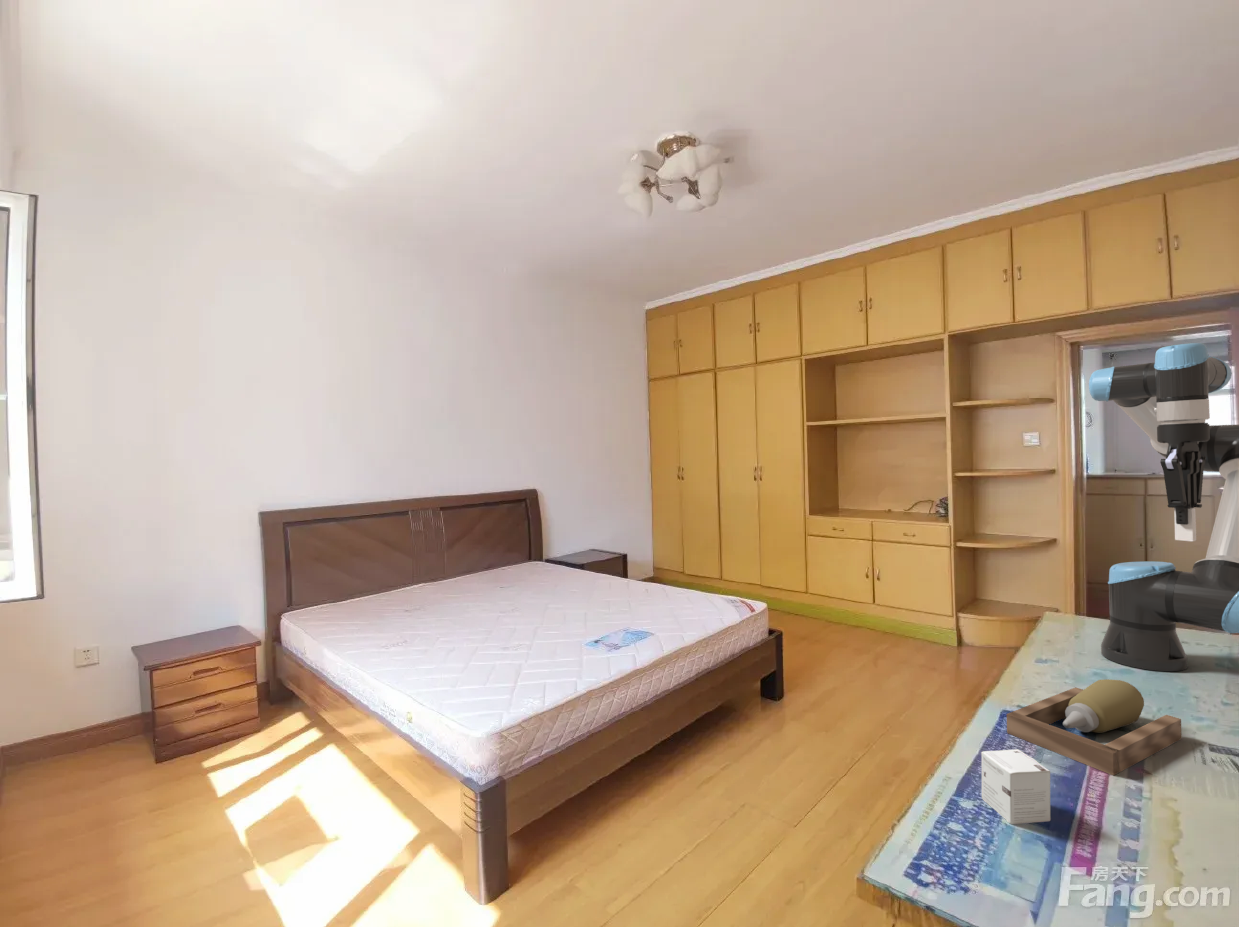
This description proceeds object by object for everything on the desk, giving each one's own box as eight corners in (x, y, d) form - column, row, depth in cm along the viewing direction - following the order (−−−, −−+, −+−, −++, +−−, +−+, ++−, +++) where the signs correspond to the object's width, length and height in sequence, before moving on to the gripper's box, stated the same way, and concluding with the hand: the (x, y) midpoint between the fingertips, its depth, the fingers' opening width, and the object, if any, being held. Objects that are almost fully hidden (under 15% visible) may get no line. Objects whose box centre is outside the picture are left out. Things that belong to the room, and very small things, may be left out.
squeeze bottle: (1162, 701, 103) (1102, 732, 96) (1135, 727, 108) (1075, 758, 101) (1116, 664, 109) (1056, 691, 102) (1092, 690, 114) (1033, 717, 107)
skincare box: (980, 799, 86) (979, 750, 86) (1019, 796, 86) (1018, 747, 86) (1011, 825, 80) (1010, 772, 80) (1052, 822, 80) (1051, 769, 80)
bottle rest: (1075, 704, 115) (1075, 687, 115) (1181, 738, 101) (1181, 718, 101) (1007, 732, 105) (1006, 713, 105) (1113, 775, 90) (1113, 753, 90)
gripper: (1173, 423, 121) (1176, 534, 122) (1142, 424, 116) (1145, 541, 116) (1222, 420, 114) (1225, 538, 115) (1192, 422, 109) (1195, 546, 109)
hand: (1185, 540), depth 116 cm, fingers closed
